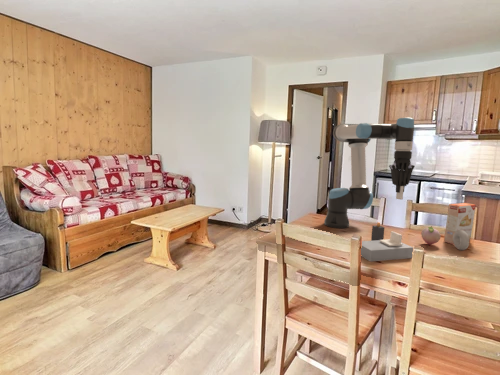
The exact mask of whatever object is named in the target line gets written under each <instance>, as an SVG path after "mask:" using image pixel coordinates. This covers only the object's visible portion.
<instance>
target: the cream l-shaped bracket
mask: <svg viewBox="0 0 500 375" xmlns="http://www.w3.org/2000/svg"><path fill="white" fill-rule="evenodd" d="M402 239H403V235H402V234H401V233H398V232H396V231H392V230H391V231H390V238H388V239H383V240H379V241H380V242H382V243H384V244H386V245H388V246H402V245H403V244H402V243H403V242H402ZM401 242H402V243H401Z"/></svg>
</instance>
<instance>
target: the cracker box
mask: <svg viewBox="0 0 500 375" xmlns="http://www.w3.org/2000/svg"><path fill="white" fill-rule="evenodd" d="M476 206H477V205H476V204H473V203H468V202H461V203H449V204H448V209H447V216H446V223H445V229H444V230H445V231H444V238H443V242H444V243H447V244H449V245H454V243H453V235H454V233H455V232H456V231H458V230H463V231H465V232H466V233H467V235H468V237H469V243H470V242H471V240H472V239H471V237H472V232H473V225H474V219H475V213H476ZM454 246H455V245H454Z"/></svg>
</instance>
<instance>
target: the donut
mask: <svg viewBox="0 0 500 375" xmlns="http://www.w3.org/2000/svg"><path fill="white" fill-rule="evenodd" d="M453 243H454V247H455V248H456V249H458V250H459V251H466V250H467V248H468V247H469V246H470V242H469V237H468V235H467V233H466V232H465V231H463V230H458V231H456V232H455V233H454V235H453Z"/></svg>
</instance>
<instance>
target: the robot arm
mask: <svg viewBox="0 0 500 375" xmlns="http://www.w3.org/2000/svg"><path fill="white" fill-rule="evenodd" d="M414 131H415V119H414V118H413V117H399V118H397V120H396V123H368V122H363V123H362V122H361V123H340V124H338V125H336V126H335V127H334V128H333V132H332V135H333V138H334V139H335V140H336V141H338V142H341V143H348V145H347V146H348V147H349V148H350V161H351V162H350V163H351V164H350V165H351V166H350V167H351V169H350V170H351V186H350V187H349V188H345V187H337V188H336V187H335V188H332V189H330V190H329V194H328V203H327V204H328V206H327V213H326V216H325V219H324V221H323V222H324V223H323V225H324V226H327V227H328V228H334V229H347V228H349V227H350V221H349V217H348V210H366V209H369V208H370V207H371V206H372V205H373V201H374V195H373V192H372V191H371V190H370V188H369V186H368V185H367V173H366V172H367V171H366V170H367V167H366V166H367V165H366V164H367V163H366V162H367V161H366V160H367V159H366V148H367V146H368V143H370V142H371V140H374V139H377V140H378V139H379V140H387V141H388V140H389V141H390V140H395V142H394V150H395V151H394V153H393V158H394V161H393V163H392V164H389V166H388V167H389V169H390V175H391V181H392V184H393V185H394V186H395V193H396V195H395V199H396V200H403V199H404V192H405V188H406V187H407V185H409V184H410V181H411V178H412V173H413V170H414V168H415V165H413V164H412V163H411V159H412V156H413V152H412V150H413V142H414V134H415V132H414Z"/></svg>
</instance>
